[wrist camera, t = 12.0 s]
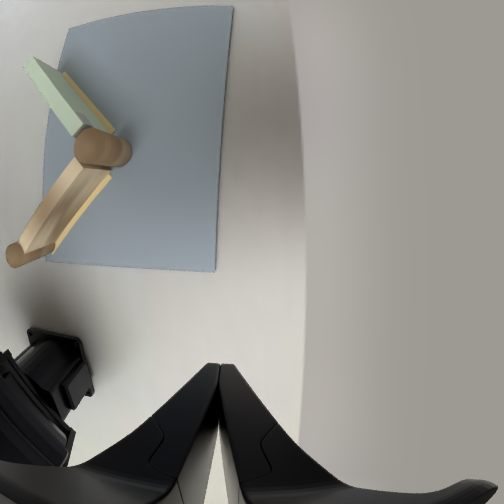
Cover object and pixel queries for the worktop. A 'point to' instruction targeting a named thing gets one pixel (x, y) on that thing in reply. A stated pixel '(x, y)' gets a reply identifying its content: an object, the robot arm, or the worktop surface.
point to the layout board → (148, 137)
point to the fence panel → (62, 98)
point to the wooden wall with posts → (69, 193)
